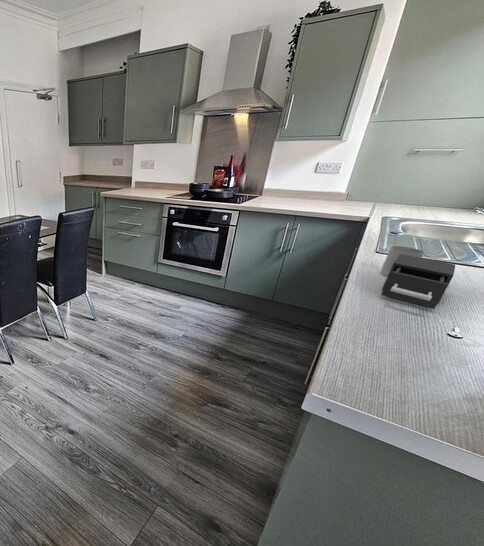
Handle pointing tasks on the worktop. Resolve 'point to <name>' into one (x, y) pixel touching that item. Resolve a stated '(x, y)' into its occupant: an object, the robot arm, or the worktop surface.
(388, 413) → the worktop surface
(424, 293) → the dark pull-out drawer
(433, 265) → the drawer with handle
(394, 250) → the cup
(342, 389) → the worktop surface
